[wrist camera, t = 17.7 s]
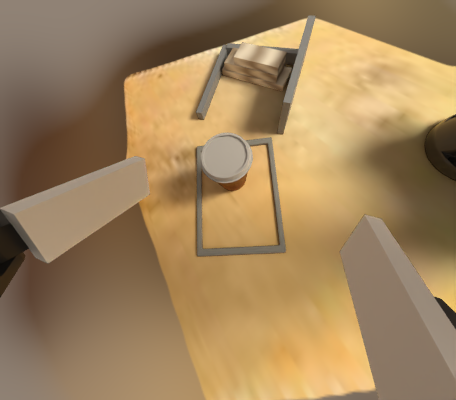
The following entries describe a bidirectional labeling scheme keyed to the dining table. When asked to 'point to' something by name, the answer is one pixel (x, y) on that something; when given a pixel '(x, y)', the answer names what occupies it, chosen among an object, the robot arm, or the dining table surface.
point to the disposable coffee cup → (227, 160)
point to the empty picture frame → (281, 246)
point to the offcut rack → (292, 58)
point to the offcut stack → (258, 66)
